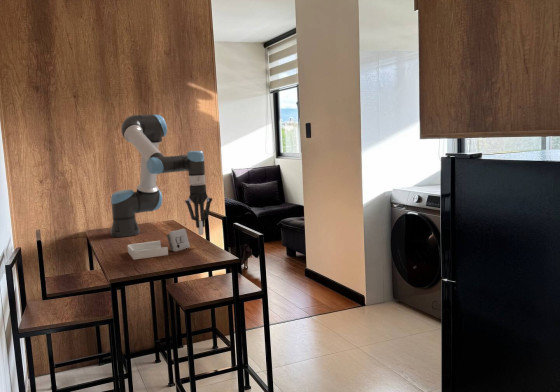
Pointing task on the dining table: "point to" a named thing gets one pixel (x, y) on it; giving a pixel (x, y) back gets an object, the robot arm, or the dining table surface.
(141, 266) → the dining table surface
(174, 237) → the electrical switch
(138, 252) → the u-shaped bracket
